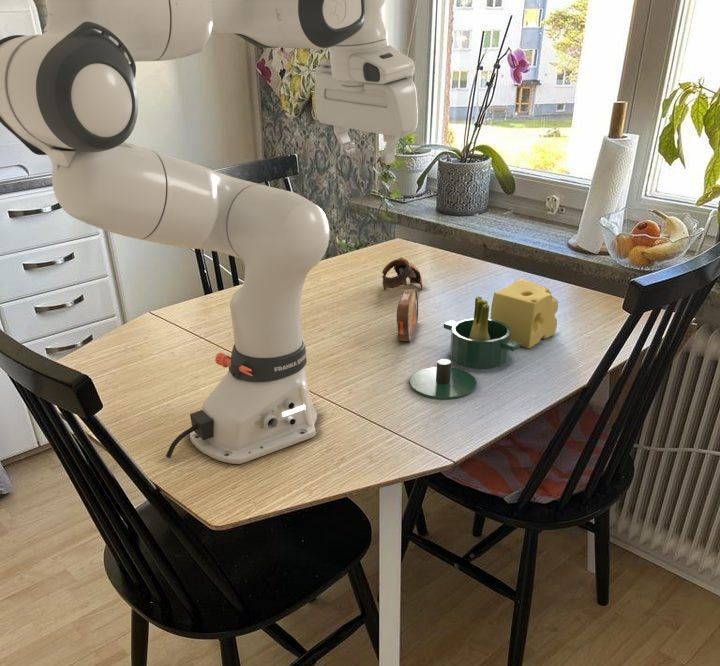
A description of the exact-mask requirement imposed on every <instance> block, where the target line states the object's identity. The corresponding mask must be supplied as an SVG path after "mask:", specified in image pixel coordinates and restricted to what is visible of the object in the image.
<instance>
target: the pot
mask: <svg viewBox="0 0 720 666" xmlns="http://www.w3.org/2000/svg"><path fill="white" fill-rule="evenodd" d="M473 320H474V317H473V318H467V319H461V320H459V321H455V320H453V319H451V320H449V321H446V322H444V323H443V328H444V329H445V330H447V331H450V349H449V357H450V361H451V362H454V363H455V364H456V365H458V366H460V367H463V368H466V369H472V370H473V369H474V370H491V369H492V370H493V369H496V368H500V367H501V366H504V365H505V364H507V362H508V361H509V357H510V352H515V351H517V350H519V349H521V346H520V344H521V343H519V342H516V341H513V340H511V330H510V327H509V326H507V325H506V324H504V323H503V322H500V321H496V320H493V319H490V318H488V334H489V337H490V339H491V340H473V339H469V336H470V333H471V329H472V324H473Z"/></svg>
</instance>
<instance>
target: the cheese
mask: <svg viewBox="0 0 720 666" xmlns="http://www.w3.org/2000/svg"><path fill="white" fill-rule="evenodd" d="M558 310H559V301H558V299H557V298H555V297H554V296H553V295H552V292H551V290H550V289H549V288H548V287H546V286H543V285H541V284H538V283H535V282H533V281H529V280H525V279H521V278H519V279H517V280H515V281H514V282H512V283H511V284H509V285H508V286H506V287H504V288H502V289H499V290H497V291H495V292H494V293H493V296H492V301H491V307H490V315H489V316H490V317H489V319H493V320H496V321H500V322H503V323H504V324H506V325H507V326H509V327H510V330H511V340H513V341H516V342H519V343H521V344H520V347H523V348H526V349H531V348H533V346H535V345H537V344H539V343H540V341H541V339H542V340H543V339H544V340H545V339H548V338H550V337H552V336H554V335H555V334H556V330H557V328H558V318H556V314H557V312H558Z"/></svg>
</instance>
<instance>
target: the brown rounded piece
mask: <svg viewBox="0 0 720 666" xmlns="http://www.w3.org/2000/svg"><path fill="white" fill-rule="evenodd" d="M391 269H393V270H394V271H395V273H396V276H392V277H389V276H387V274H388V273H389V272H390V270H391ZM381 272H382V274H383V275H382V277H381V278H382V283H381V284H382V287H383V290H384V291H386V290H387V289H394V288H399V287H400V286H407V287H408V282H407V279H409V284H419V286H420V290H421V291H422V290H423V289H424V285H423V279H422V276H421V272H420V271H419V268H418V267H417V266H416V265H415V264H413V263H412V262H409V261H408V260H407V258H404V257H398V258H396V259H393V260H391V261H390V262H388V263H387V264H386V265H385V267H384V268H383V269H382V271H381Z"/></svg>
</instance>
